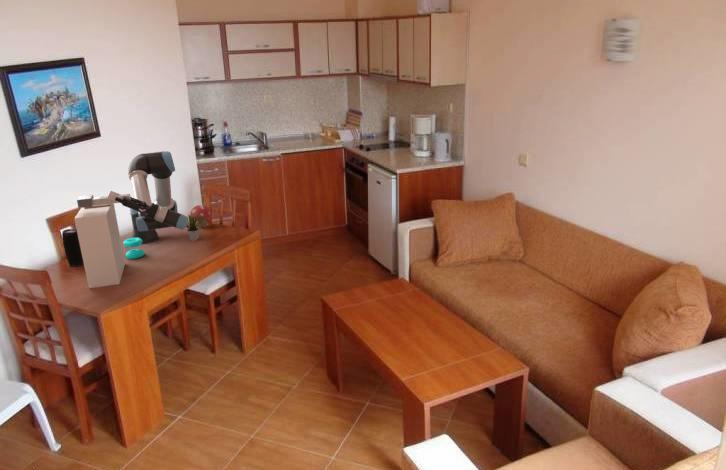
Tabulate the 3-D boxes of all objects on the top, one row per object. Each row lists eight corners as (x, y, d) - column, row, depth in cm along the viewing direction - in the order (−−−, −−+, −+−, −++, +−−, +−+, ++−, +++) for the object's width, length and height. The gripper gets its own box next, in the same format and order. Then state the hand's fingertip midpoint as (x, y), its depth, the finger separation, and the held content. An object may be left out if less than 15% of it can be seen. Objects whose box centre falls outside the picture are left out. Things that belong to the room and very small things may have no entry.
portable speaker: (88, 261, 314) (82, 227, 307) (79, 267, 305) (72, 233, 299) (74, 261, 314) (67, 227, 308) (64, 267, 305) (57, 233, 299)
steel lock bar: (131, 198, 281) (129, 190, 280) (129, 202, 274) (128, 194, 272) (81, 203, 275) (79, 196, 273) (78, 208, 267) (76, 199, 266)
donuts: (129, 236, 320) (145, 237, 318) (132, 253, 324) (148, 253, 322) (119, 242, 311) (135, 243, 309) (122, 259, 314) (138, 259, 312)
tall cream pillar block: (125, 263, 307) (112, 198, 296) (119, 284, 280) (105, 213, 268) (97, 267, 304) (84, 201, 292) (88, 288, 276) (73, 216, 265)
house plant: (213, 237, 345) (210, 212, 340) (196, 244, 334) (192, 218, 329) (197, 234, 352) (193, 209, 347) (179, 240, 341) (176, 215, 336)
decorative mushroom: (215, 228, 363) (212, 205, 359) (194, 232, 357) (191, 209, 352) (210, 223, 374) (207, 201, 370) (189, 226, 368) (186, 204, 364)
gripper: (160, 201, 290) (114, 183, 281) (158, 210, 274) (110, 191, 265) (154, 214, 291) (108, 197, 282) (152, 223, 275) (104, 205, 266)
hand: (109, 194), depth 273 cm, fingers closed on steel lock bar, 4 cm apart
